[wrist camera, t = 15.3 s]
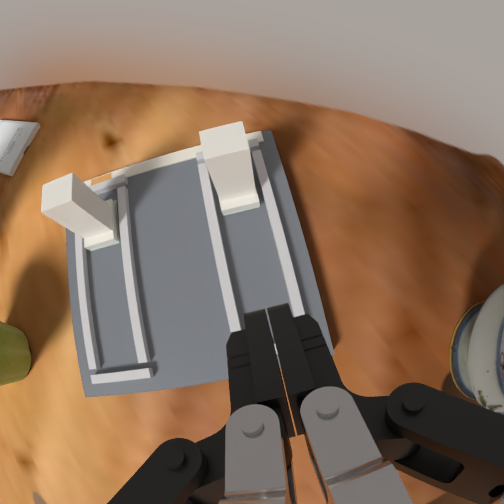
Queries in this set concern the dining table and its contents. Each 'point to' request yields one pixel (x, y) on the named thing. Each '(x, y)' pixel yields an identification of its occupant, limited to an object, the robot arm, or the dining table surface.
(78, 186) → the tab
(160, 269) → the switch board
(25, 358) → the plant pot
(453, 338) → the apothecary jar
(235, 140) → the tab
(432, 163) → the dining table surface
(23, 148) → the external hard drive
